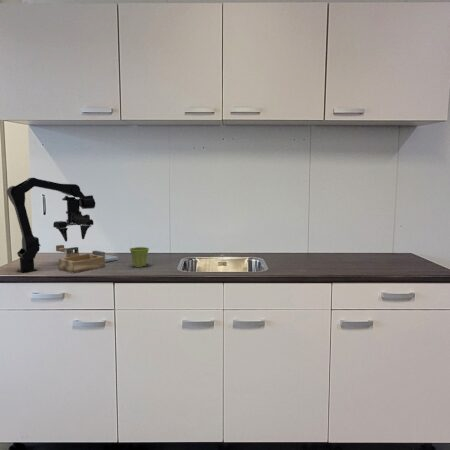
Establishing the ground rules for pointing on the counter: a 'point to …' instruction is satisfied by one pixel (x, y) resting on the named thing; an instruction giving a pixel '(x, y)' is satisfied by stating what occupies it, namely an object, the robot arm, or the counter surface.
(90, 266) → the toolbox
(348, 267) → the counter surface
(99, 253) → the lid
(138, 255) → the plant pot
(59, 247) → the beige long block
